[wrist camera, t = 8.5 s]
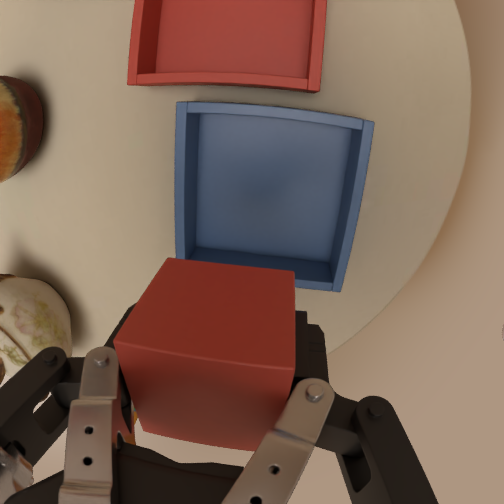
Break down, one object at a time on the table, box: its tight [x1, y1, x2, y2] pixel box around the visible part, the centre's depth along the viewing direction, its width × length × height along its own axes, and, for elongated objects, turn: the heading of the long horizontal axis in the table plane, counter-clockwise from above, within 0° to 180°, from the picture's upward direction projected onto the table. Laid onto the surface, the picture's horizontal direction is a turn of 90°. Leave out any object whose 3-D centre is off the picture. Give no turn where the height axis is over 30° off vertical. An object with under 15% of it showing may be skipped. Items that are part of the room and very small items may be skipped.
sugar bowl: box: [0, 274, 72, 402], centre depth 29 cm, size 20×15×15 cm
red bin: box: [127, 0, 327, 93], centre depth 18 cm, size 14×14×4 cm
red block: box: [113, 258, 295, 451], centre depth 11 cm, size 5×5×5 cm
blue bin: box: [175, 101, 374, 292], centre depth 24 cm, size 14×14×4 cm
